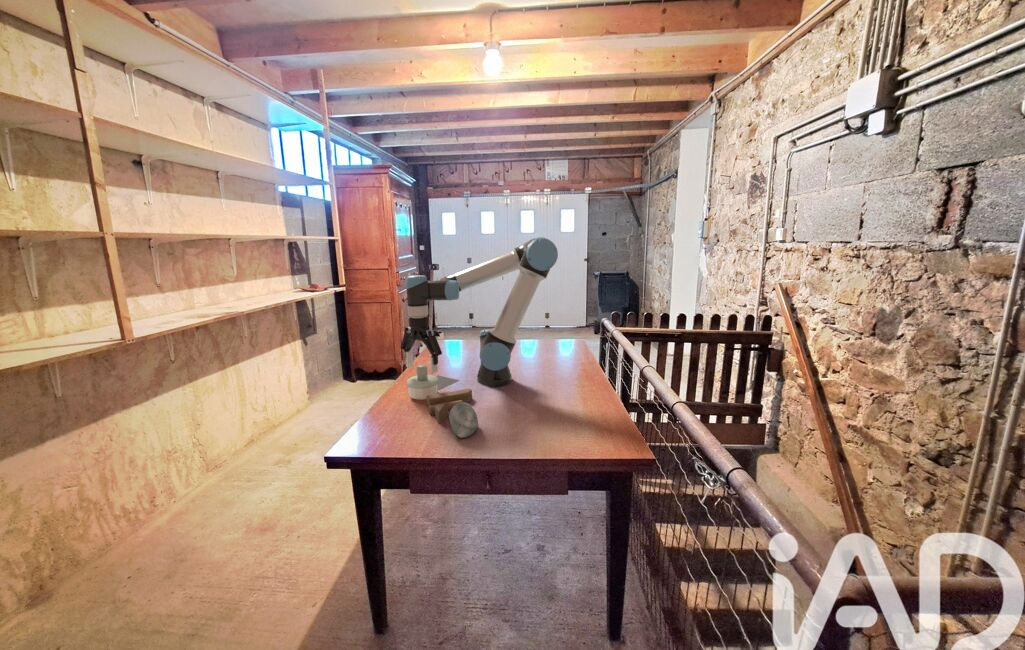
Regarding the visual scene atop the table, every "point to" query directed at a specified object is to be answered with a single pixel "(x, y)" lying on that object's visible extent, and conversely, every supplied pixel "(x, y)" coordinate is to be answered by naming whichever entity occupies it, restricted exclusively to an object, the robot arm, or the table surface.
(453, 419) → the grey rock
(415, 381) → the lid
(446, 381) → the trivet
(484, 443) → the table surface
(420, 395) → the bowl
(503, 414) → the table surface
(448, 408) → the brown jagged block
